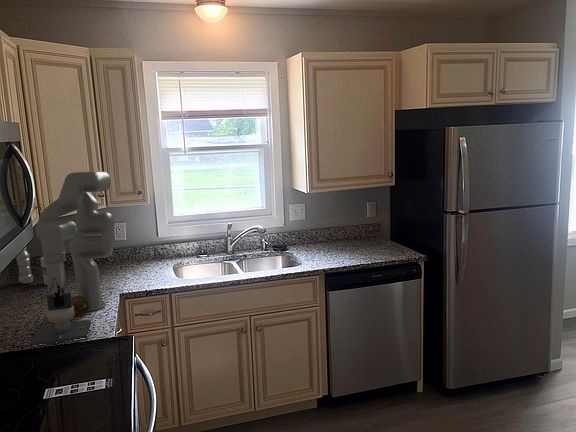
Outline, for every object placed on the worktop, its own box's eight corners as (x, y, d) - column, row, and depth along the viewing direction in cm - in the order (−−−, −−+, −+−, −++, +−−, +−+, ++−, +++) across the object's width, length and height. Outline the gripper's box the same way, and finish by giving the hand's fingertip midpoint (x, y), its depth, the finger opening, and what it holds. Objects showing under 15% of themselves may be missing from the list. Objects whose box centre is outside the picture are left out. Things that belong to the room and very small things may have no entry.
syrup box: (60, 281, 257) (57, 254, 255) (53, 285, 251) (50, 257, 249) (49, 282, 258) (46, 255, 255) (43, 285, 252) (39, 257, 250)
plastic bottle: (27, 285, 253) (23, 247, 250) (16, 285, 254) (11, 247, 251) (36, 281, 259) (31, 244, 256) (25, 281, 260) (20, 244, 257)
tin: (50, 320, 201) (47, 300, 200) (51, 317, 204) (49, 298, 203) (89, 315, 206) (87, 296, 204) (90, 313, 209) (88, 294, 207)
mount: (41, 329, 192) (39, 314, 191) (91, 323, 197) (89, 308, 196) (32, 346, 175) (30, 330, 175) (86, 339, 180) (85, 323, 180)
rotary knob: (50, 316, 188) (47, 292, 187) (76, 312, 191) (73, 289, 189) (45, 326, 178) (42, 301, 176) (72, 322, 180) (69, 297, 179)
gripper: (47, 253, 188) (52, 299, 191) (39, 263, 173) (45, 313, 175) (68, 251, 190) (73, 297, 193) (62, 261, 175) (68, 310, 178)
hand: (60, 304), depth 184 cm, fingers open, 2 cm apart
